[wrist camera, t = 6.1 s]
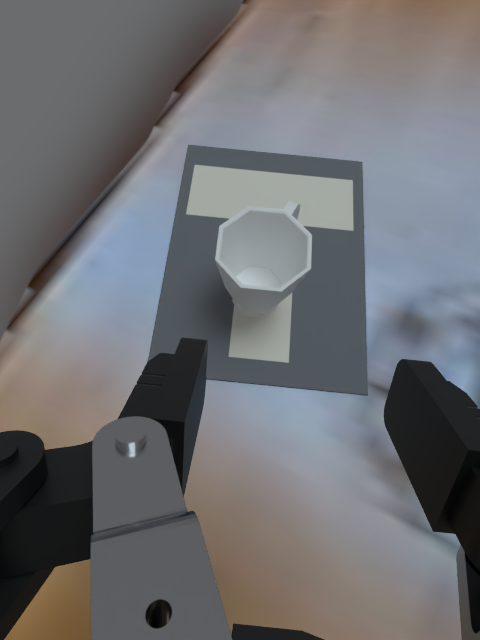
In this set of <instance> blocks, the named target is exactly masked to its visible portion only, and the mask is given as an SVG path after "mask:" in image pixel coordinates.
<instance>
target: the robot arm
mask: <svg viewBox="0 0 480 640" xmlns="http://www.w3.org/2000/svg"><path fill="white" fill-rule="evenodd" d="M207 355H208V340H204V339H194V338H184V337H182V338H181V339H180V342H179V344H178V347H177V349H176V352H175V354H169V353H159V354H158V355H156V356H155V357H154V358H152V359H151V360H149V361H148V362H147V364H146V366H145V368H144V370H143V372H142V375H141V376H140V377H139V379H138V381H137V385H135V387H134V389H133V391H132V393H131V395H130V397H129V399H128V400H127V402H126V404H125V406H124V408H123V410H122V412H121V414H120V416H119V418H118V419H117V420H115V421H112V422H110V423H108V424H107V425H105V426H104V427H103V428H101V429H100V430H99V431H98V432H97V434H96V435H95V437H94V440H93V441H91V442H88V443H85V444H81V445H77V446H71V447H63V448H56V449H49V450H45V449H44V443H43V441H42V440H41V439H40V438H39V437H38V436H37V435H35V434H33V433H30V432H26V431H6V432H1V433H0V640H4V639H5V637H6V636H7V635H8V633H9V632H10V630H11V629H12V628H13V626H14V625H15V623H16V622H17V620H18V619H19V618H20V616H21V615H22V613H23V612H24V611H25V609H26V608H27V606H28V605H29V603H30V602H31V601H32V599H33V598H34V596H35V595H36V594H37V592H38V591H39V589H40V588H41V586H42V585H43V584H44V582H45V581H46V579H47V578H48V577H49V575H50V574H51V572H52V571H53V569H54V568H55V567H56V566H61V565H65V564H70V563H74V562H79V561H83V560H88V559H91V640H324V639H321V638H319V637H316V636H314V635H311V634H309V633H306V632H304V631H299V630H289V629H280V628H270V627H260V626H251V625H241V624H233V629H232V637H231V633H230V630H229V626H228V623H227V619H226V616H225V612H224V609H223V605H222V602H221V598H220V595H219V591H218V587H217V584H216V580H215V577H214V573H213V570H212V566H211V563H210V559H209V556H208V552H207V549H206V545H205V542H204V538H203V534H202V531H201V527H200V524H199V521H198V518H197V516H196V514H195V512H194V511H190V512H188V511H187V508H186V505H185V501H184V493H185V488H186V484H187V479H188V475H189V470H190V465H191V461H192V456H193V452H194V447H195V442H196V438H197V433H198V428H199V424H200V419H201V415H202V410H203V404H204V397H205V387H206V371H207ZM384 422H385V426H386V429H387V431H388V433H389V436H390V438H391V440H392V442H393V444H394V447H395V449H396V451H397V453H398V455H399V458H400V460H401V462H402V464H403V466H404V468H405V471H406V473H407V475H408V477H409V479H410V482H411V484H412V486H413V488H414V490H415V493H416V495H417V497H418V499H419V501H420V504H421V506H422V508H423V510H424V512H425V515H426V517H427V519H428V521H429V523H430V526H431V528H432V530H433V532H443V533H453V534H456V536H457V538H458V540H459V542H460V544H461V546H460V548H459V550H458V552H457V556H456V562H457V577H458V592H459V607H460V622H461V637H462V640H480V409H477V405H476V404H475V403H474V402H473V400H472V399H471V398H470V397H469V396H468V395H467V393H465V392H464V391H462V390H461V389H460V388H458V387H457V386H455V385H454V384H452V383H451V382H450V381H446V379H445V378H444V377H443V376H442V375H441V373H440V372H439V371H438V370H437V368H436V367H435V366H434V365H433V364H432V363H431V362H427V361H417V360H407V359H402V360H400V361H399V363H398V364H397V367H396V370H395V373H394V376H393V380H392V383H391V387H390V390H389V393H388V397H387V400H386V403H385V408H384Z"/></svg>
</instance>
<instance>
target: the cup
mask: <svg viewBox="0 0 480 640" xmlns="http://www.w3.org/2000/svg"><path fill="white" fill-rule="evenodd" d="M299 211H300V204H298V203H296V202H294V201H291V200H289V202H288V203H287V204H286V206H285V207H284V209H275V208H264V207H254V206H248V207H247V208H245V209H244V210H242V211H241V212H239V213H238V214H236V215H235V216H233V217H232V218H230V219H229V220H227V221H226V222H224V223H223V224H221V225H220V226H219V233H218V240H217V248H216V256H215V261H216V264H217V267H218V269H219V272H220V274H221V277H222V280H223V282H224V285H225V288H226V289H227V291H228V292H229V294H230V295H231V297H232V298H233V299H232V302H233V303H234V304H235V305H236V306H237V308H238V309H239V310H240V311H241V312H242V313H243V314H244V315H245V316H253V317H263V318H264V317H266V316H267V315H268V314H269V313H271V312H272V311H273V310H275V309H276V308H277V307H278V306H279V303H280V302H281V301H282V300H284V299H285V298H286V297H287V296H289V295H290V294H291V293H292V292H293V290H294V289H295V288H296V287H297V285H298V284H299V283H300V282H301V280H302V279H303V278H304V277H305V276H306V274H307V273H308V272H309V271H310V269H311V253H312V234H311V233H310V232H309V231H308V230H307V229H306V228H305V227H304V226H303V225H302V224H300V223H299V222H298V221H297V219H298V215H299Z"/></svg>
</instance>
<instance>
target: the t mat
mask: <svg viewBox="0 0 480 640" xmlns="http://www.w3.org/2000/svg"><path fill="white" fill-rule="evenodd" d="M289 200H291V201H294V202H296V203H298V204H300V211H299V215H298V219H297V221H298V222H299V223H300V224H302V225H303V226H304V227H305V228H306V229H307V230H308V231H309V232H310V233H311V234H312V253H311V269H310V271H309V272H308V273H307V274H306V276H305V277H304V278H303V279H302V280H301V282H300V283H299V284H298V285H297V287H296V288H295V289H294V290H293V292H292V293H291V294H290V295H289V296H287V297H286V298H285V299H284V300H282V301H281V302H280V303H279V306H278V307H277V308H276V309H275V310H273V311H272V312H271V313H269V314H268V315H267V316H266V317H264V318H263V317H253V316H245V315H244V314H243V313H242V312H241V311H240V310H239V309H238V308H237V306H236V305H235V304H234V303H233V302H232V299H233V298H232V297H231V295H230V294H229V292H228V291H227V289H226V288H225V285H224V282H223V280H222V277H221V274H220V272H219V269H218V267H217V264H216V261H215V256H216V248H217V240H218V233H219V226H220V225H221V224H223V223H224V222H226V221H227V220H229V219H230V218H232V217H233V216H235V215H236V214H238V213H239V212H241V211H242V210H244V209H245V208H247V207H248V206H254V207H264V208H275V209H284V207H285V206H286V204H287V203H288V202H289ZM182 337H184V338H194V339H204V340H208V355H207V371H206V379H212V380H222V381H231V382H241V383H251V384H261V385H271V386H281V387H291V388H301V389H311V390H320V391H330V392H340V393H350V394H360V395H368V389H367V346H366V303H365V260H364V216H363V173H362V162H358V161H348V160H338V159H327V158H317V157H307V156H297V155H287V154H276V153H266V152H256V151H246V150H236V149H226V148H215V147H205V146H195V145H188V150H187V155H186V160H185V166H184V171H183V176H182V182H181V187H180V193H179V198H178V203H177V209H176V214H175V219H174V225H173V230H172V236H171V241H170V246H169V252H168V257H167V262H166V268H165V273H164V278H163V284H162V289H161V295H160V300H159V305H158V311H157V316H156V321H155V327H154V332H153V338H152V343H151V348H150V354H149V359H148V361H149V360H151V359H152V358H154V357H155V356H156V355H158V354H159V353H169V354H175V352H176V349H177V347H178V344H179V342H180V339H181V338H182Z"/></svg>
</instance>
